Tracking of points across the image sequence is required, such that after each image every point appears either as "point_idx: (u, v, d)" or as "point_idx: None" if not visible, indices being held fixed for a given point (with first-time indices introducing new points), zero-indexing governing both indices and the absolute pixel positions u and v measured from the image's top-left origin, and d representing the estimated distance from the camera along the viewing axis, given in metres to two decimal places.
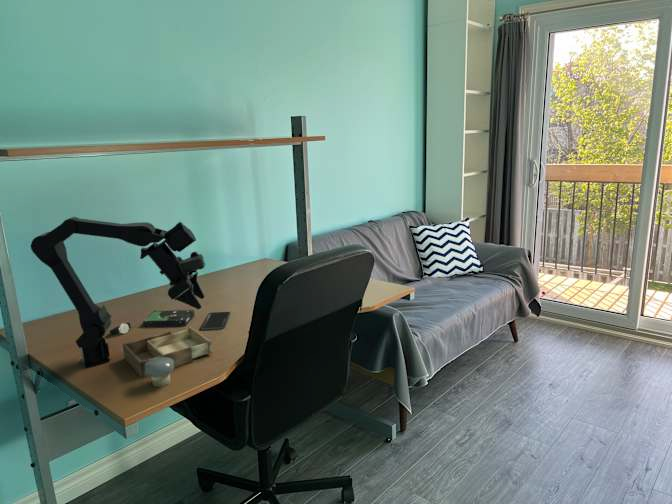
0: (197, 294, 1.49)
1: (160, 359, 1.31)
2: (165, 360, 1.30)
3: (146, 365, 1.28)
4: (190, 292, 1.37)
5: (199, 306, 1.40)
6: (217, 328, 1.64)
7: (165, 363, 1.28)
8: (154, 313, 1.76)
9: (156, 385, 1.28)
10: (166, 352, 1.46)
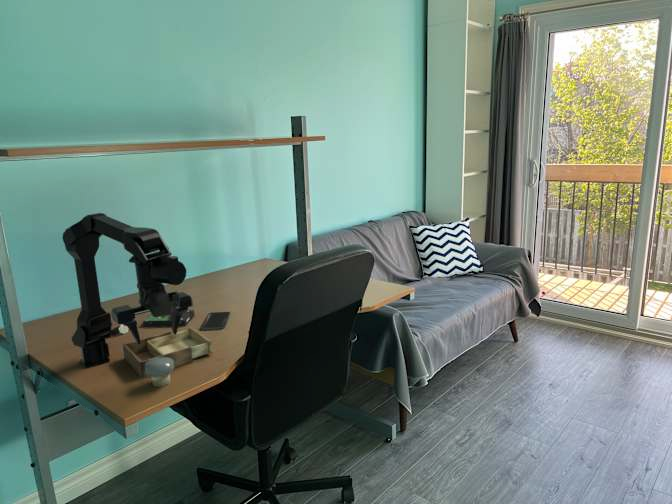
0: (172, 326, 1.30)
1: (160, 359, 1.31)
2: (165, 360, 1.30)
3: (146, 365, 1.28)
4: None
5: (137, 342, 1.24)
6: (217, 328, 1.64)
7: (165, 363, 1.28)
8: None
9: (156, 385, 1.28)
10: (166, 352, 1.46)
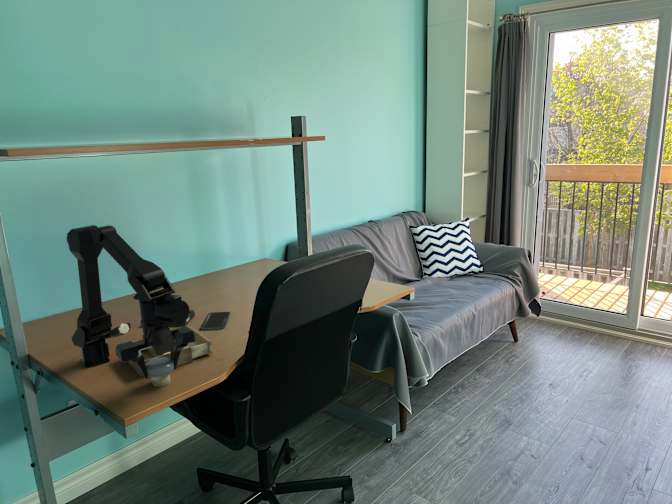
0: None
1: (160, 359, 1.31)
2: (165, 360, 1.30)
3: (146, 365, 1.28)
4: None
5: (144, 376, 1.27)
6: (217, 328, 1.64)
7: (165, 363, 1.28)
8: None
9: (156, 385, 1.28)
10: None
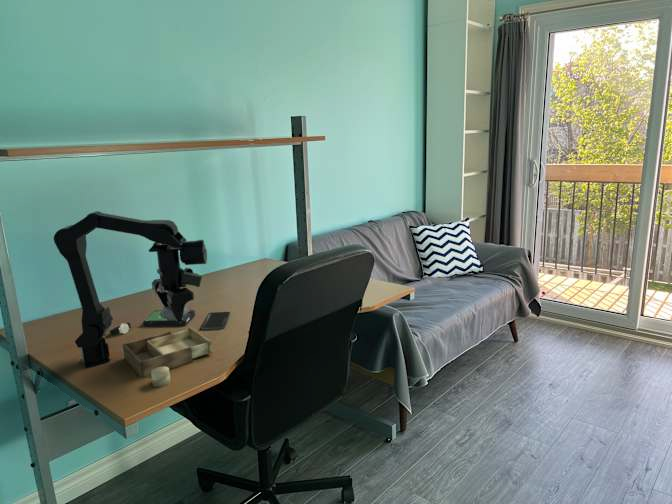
0: None
1: (166, 309, 1.43)
2: None
3: None
4: (184, 303, 1.39)
5: (180, 319, 1.40)
6: (217, 328, 1.64)
7: None
8: (155, 313, 1.76)
9: (156, 385, 1.28)
10: (166, 352, 1.46)
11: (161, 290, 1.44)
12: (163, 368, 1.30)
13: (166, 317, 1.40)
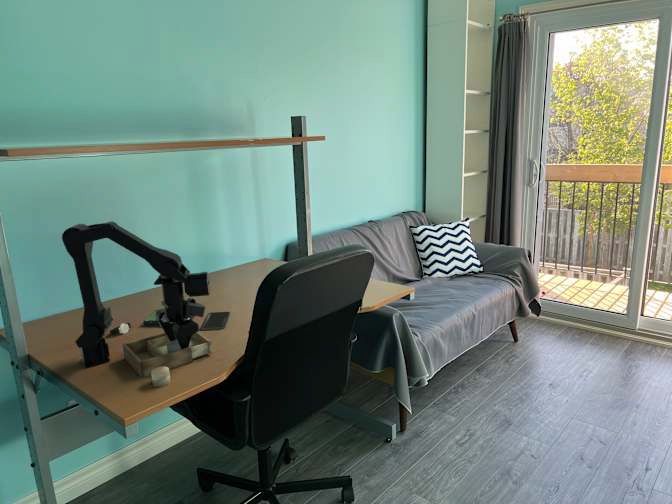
0: (171, 338, 1.49)
1: (171, 344, 1.46)
2: (175, 342, 1.47)
3: (179, 347, 1.44)
4: (190, 335, 1.41)
5: None
6: (217, 328, 1.64)
7: None
8: (155, 312, 1.76)
9: (156, 385, 1.28)
10: (166, 352, 1.46)
11: (164, 320, 1.48)
12: (163, 368, 1.30)
13: None
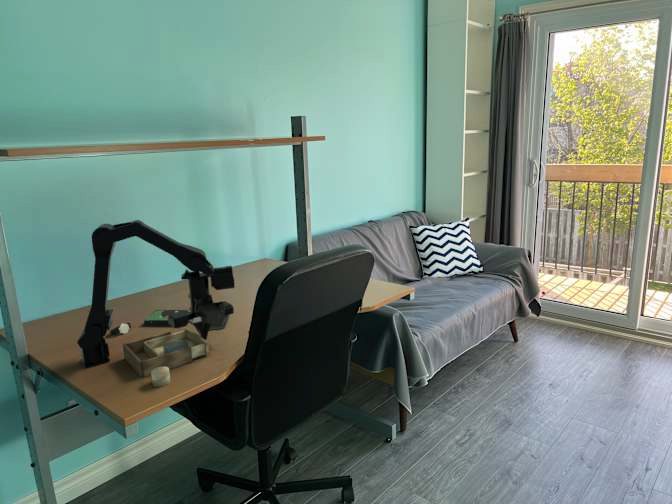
0: None
1: (167, 345, 1.45)
2: (171, 343, 1.47)
3: (176, 349, 1.43)
4: None
5: None
6: (217, 328, 1.64)
7: (179, 342, 1.47)
8: (156, 312, 1.77)
9: (156, 385, 1.28)
10: (162, 353, 1.45)
11: None
12: (163, 368, 1.30)
13: None
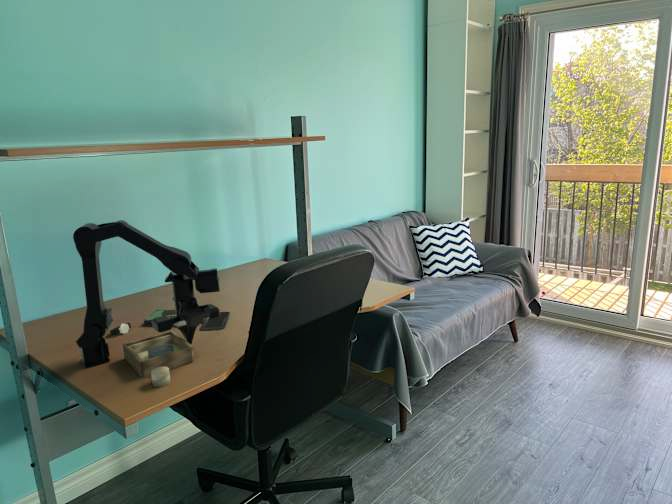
0: None
1: (152, 350, 1.43)
2: (156, 347, 1.44)
3: (160, 353, 1.40)
4: None
5: None
6: (217, 328, 1.64)
7: (164, 346, 1.45)
8: (156, 312, 1.77)
9: (156, 385, 1.28)
10: (147, 358, 1.42)
11: None
12: (163, 368, 1.30)
13: None
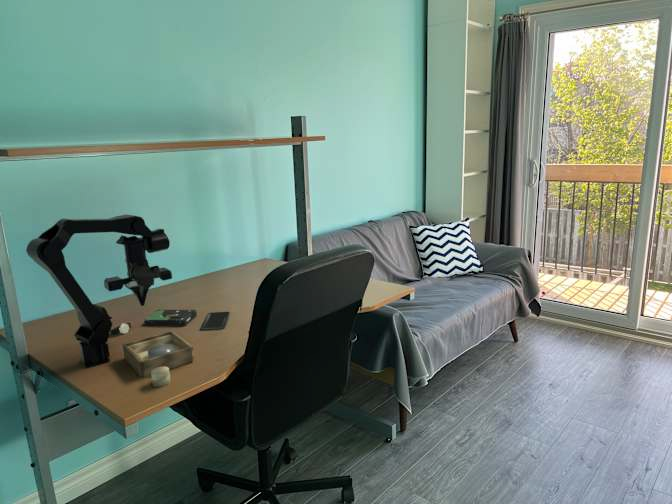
0: None
1: (152, 350, 1.43)
2: (156, 347, 1.44)
3: (160, 353, 1.40)
4: None
5: (140, 304, 1.53)
6: (218, 328, 1.64)
7: (164, 346, 1.45)
8: (157, 312, 1.77)
9: (156, 385, 1.28)
10: (147, 358, 1.42)
11: None
12: (163, 368, 1.30)
13: None
